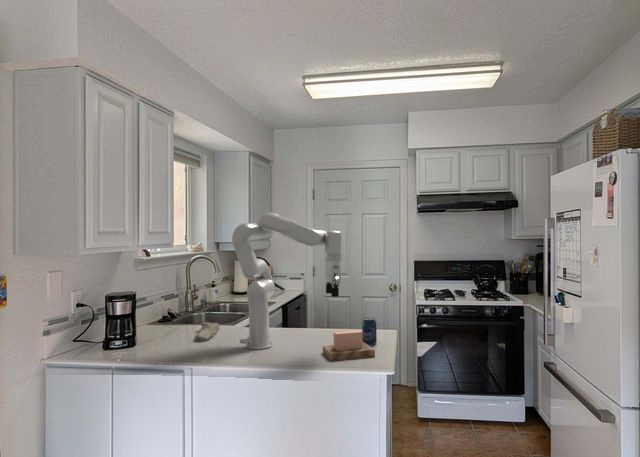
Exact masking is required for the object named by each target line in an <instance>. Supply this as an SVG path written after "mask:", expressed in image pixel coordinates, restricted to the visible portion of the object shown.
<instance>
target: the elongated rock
mask: <svg viewBox="0 0 640 457" xmlns="http://www.w3.org/2000/svg"><path fill="white" fill-rule="evenodd" d="M219 331H220V324H219V323H218V322H210V321H206V322H205V321H204V322H202V323H201V329H200V330H199V331H198V333H196V337H195V340H196V341H197V342H200V343H205V342H208V341H210V339H212V338H213V337H214V336H215V335H216V334H217V333H218V332H219Z"/></svg>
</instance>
